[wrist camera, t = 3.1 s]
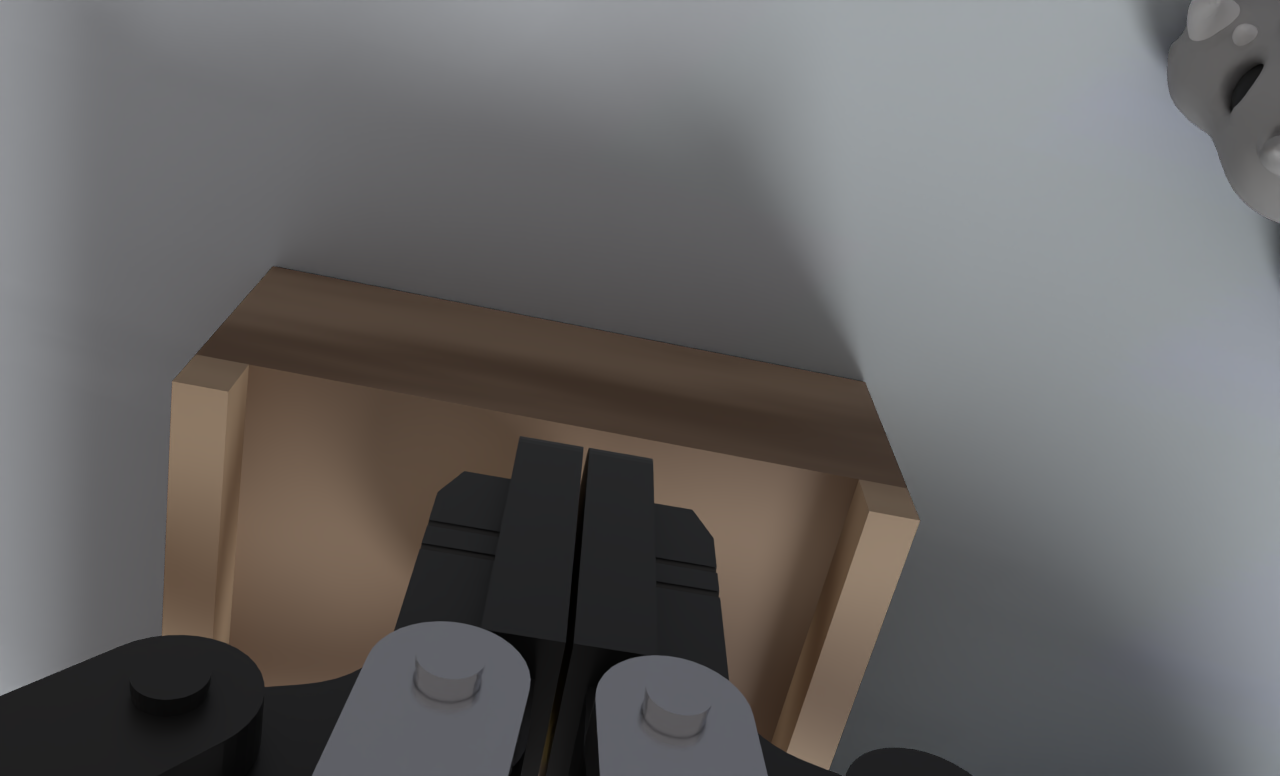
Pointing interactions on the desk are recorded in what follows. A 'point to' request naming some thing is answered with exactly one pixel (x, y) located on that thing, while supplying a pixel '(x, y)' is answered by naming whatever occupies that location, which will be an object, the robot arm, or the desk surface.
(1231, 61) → the round bodied animal figurine
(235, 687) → the robot arm
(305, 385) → the wooden box
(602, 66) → the desk surface
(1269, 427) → the desk surface
